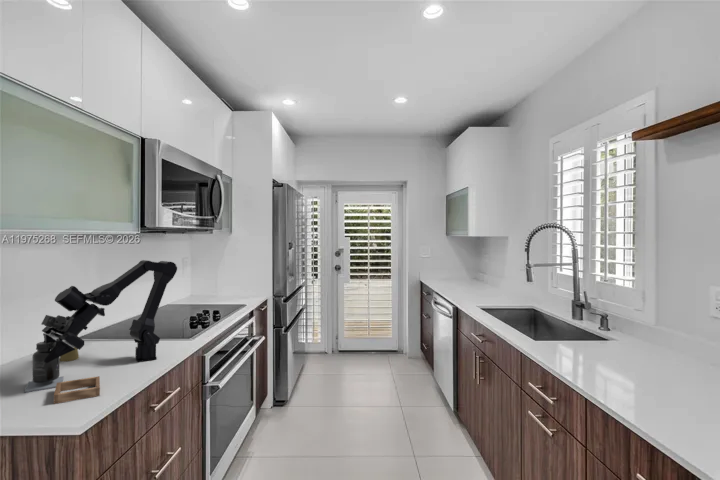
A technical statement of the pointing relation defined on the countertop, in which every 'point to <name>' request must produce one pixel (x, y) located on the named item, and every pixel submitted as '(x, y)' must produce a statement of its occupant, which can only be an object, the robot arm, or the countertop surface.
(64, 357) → the cork
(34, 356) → the supplement bottle
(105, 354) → the countertop surface
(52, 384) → the slate mat
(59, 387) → the walnut holder
